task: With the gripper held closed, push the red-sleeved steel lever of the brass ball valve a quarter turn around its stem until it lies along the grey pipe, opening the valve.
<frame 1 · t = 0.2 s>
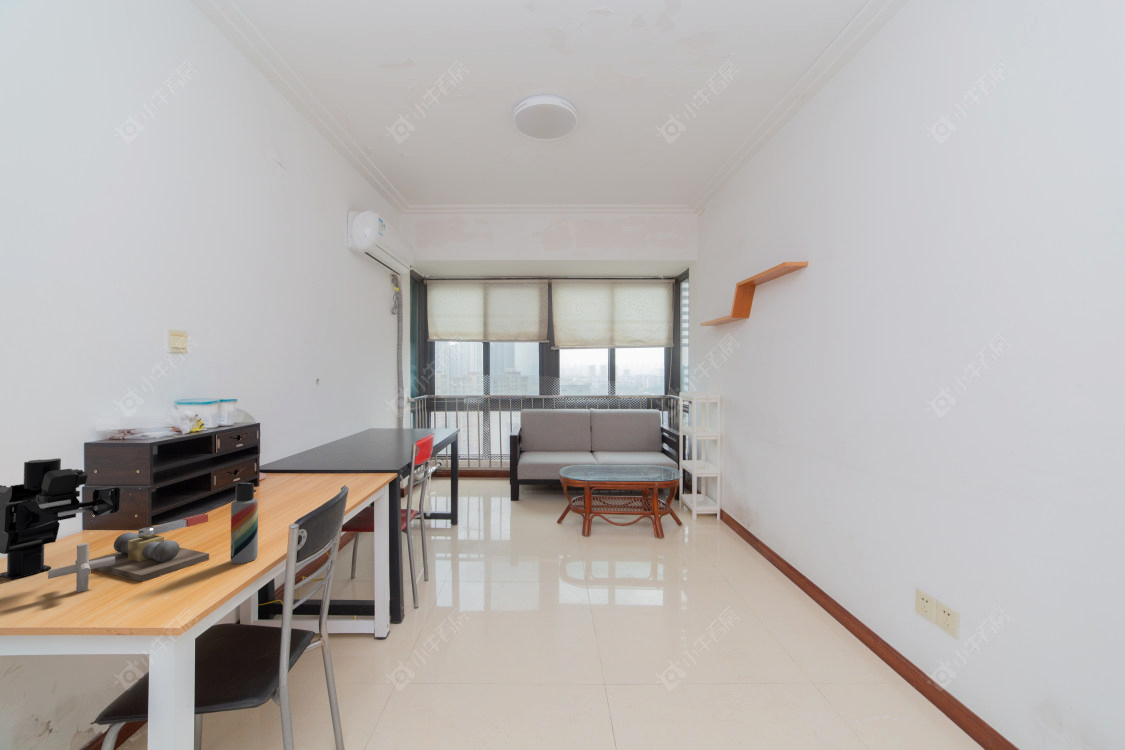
hand: (85, 512, 99), 17 cm above the table, tool horizontal, fingers open, 9 cm apart
pipe connector: (82, 590, 98), on the table
valve mount: (146, 562, 113), on the table
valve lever: (174, 525, 119), point 8 cm above the table, hinge at 0.0°
lotion bottle: (244, 560, 115), on the table
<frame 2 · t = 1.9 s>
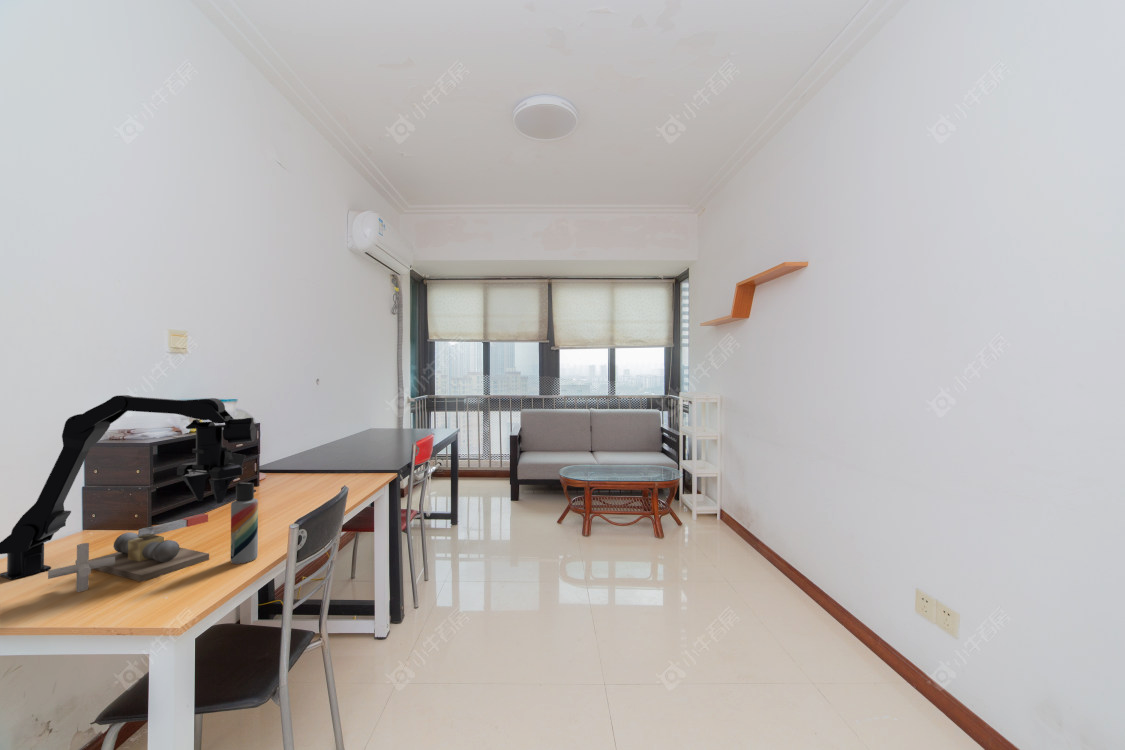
hand: (210, 501, 121), 13 cm above the table, tool pointing down, fingers open, 8 cm apart
nothing on the table moved.
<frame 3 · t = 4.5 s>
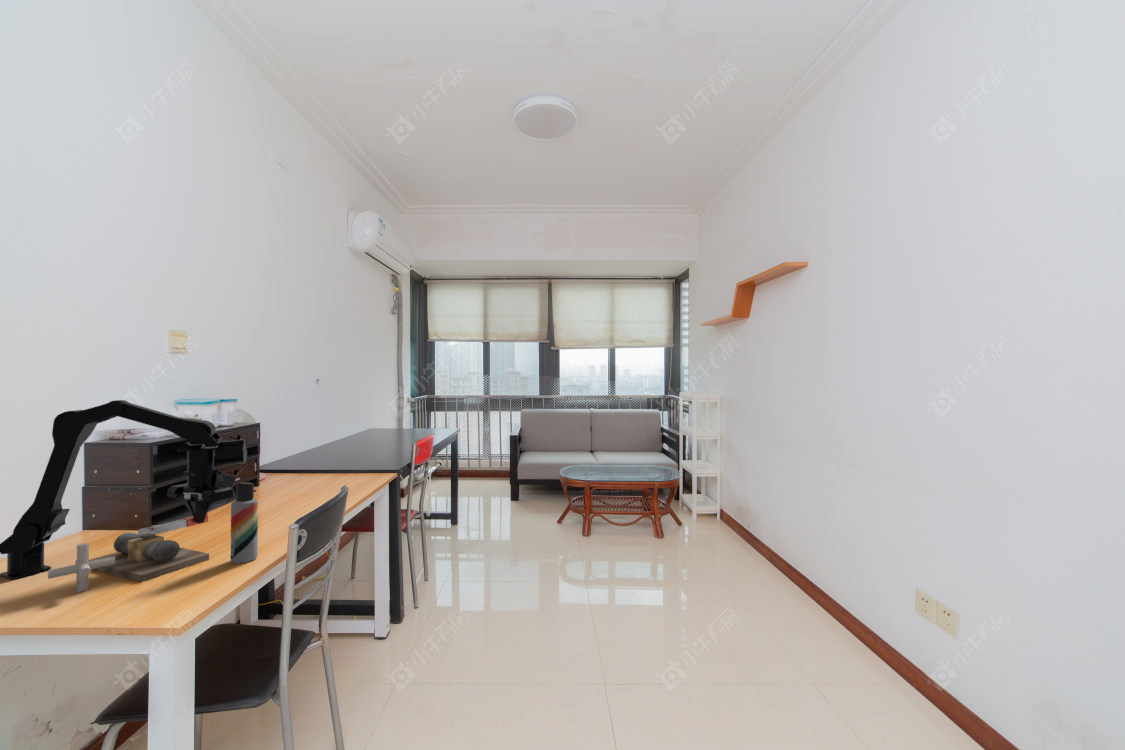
hand: (200, 523, 123), 7 cm above the table, tool pointing down, fingers closed
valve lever: (174, 525, 119), point 8 cm above the table, hinge at 0.1°, touching gripper
everything else where it was.
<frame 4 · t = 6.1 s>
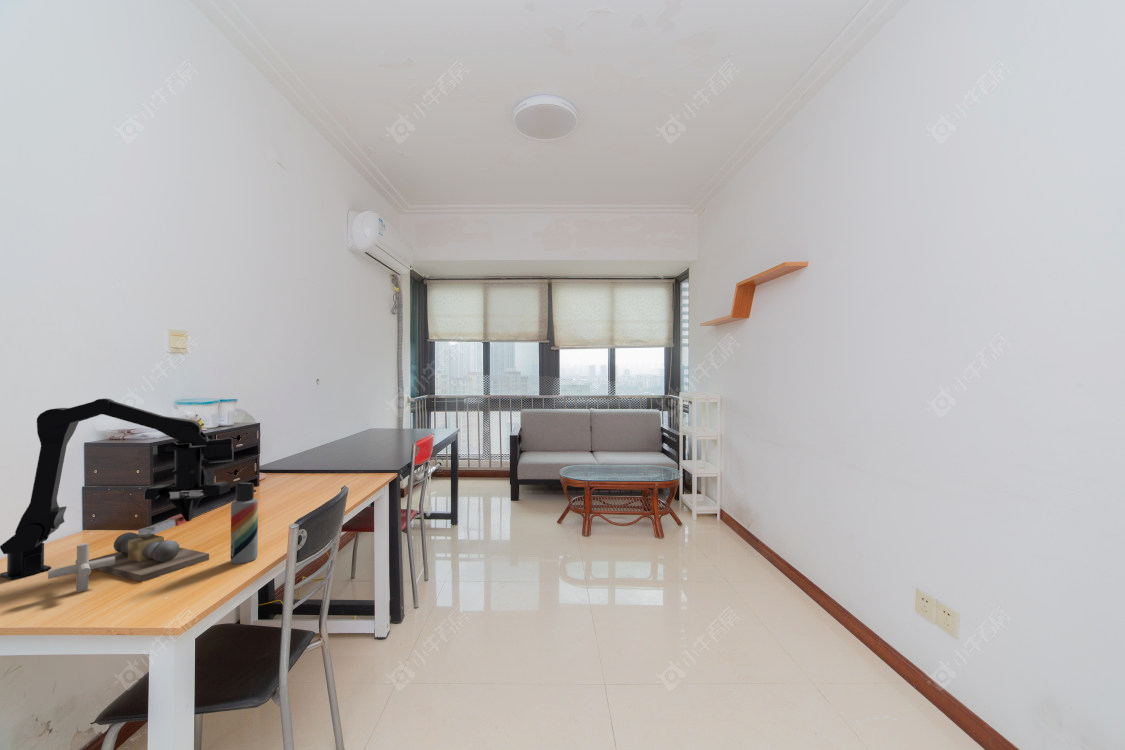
hand: (188, 521, 125), 7 cm above the table, tool pointing down, fingers closed
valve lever: (165, 525, 120), point 8 cm above the table, hinge at 26.3°, touching gripper
everything else where it was.
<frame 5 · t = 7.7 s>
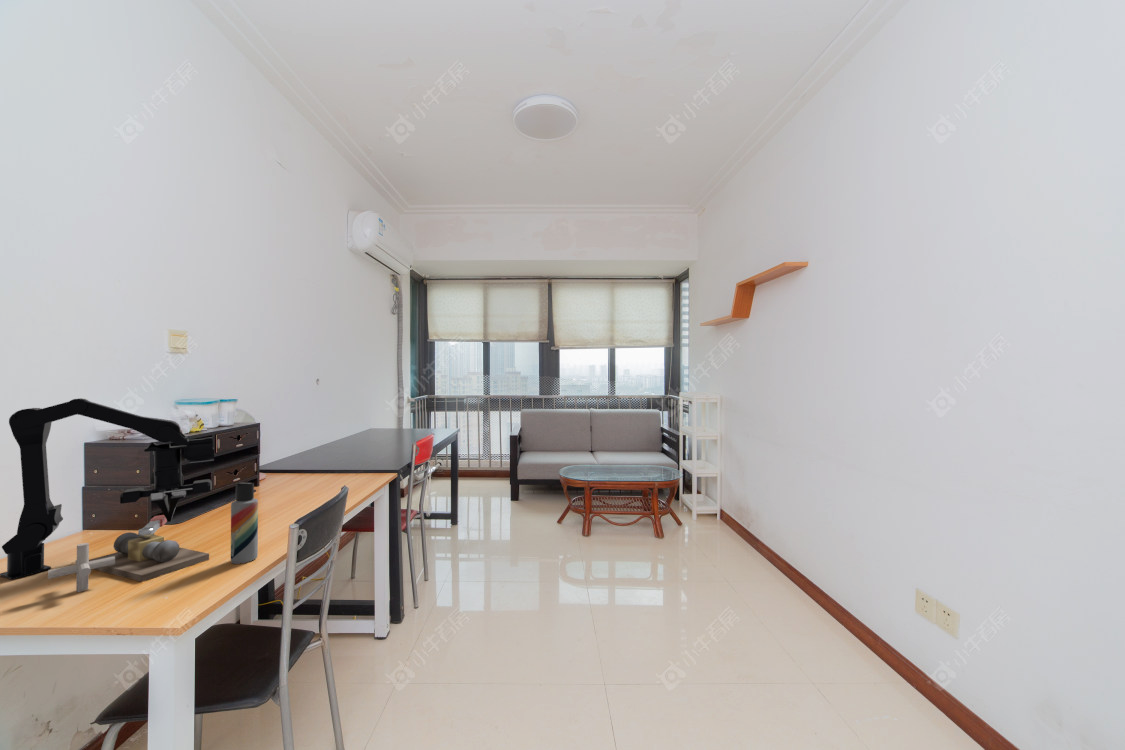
hand: (169, 521, 124), 7 cm above the table, tool pointing down, fingers closed
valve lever: (153, 526, 119), point 8 cm above the table, hinge at 51.7°, touching gripper
everything else where it was.
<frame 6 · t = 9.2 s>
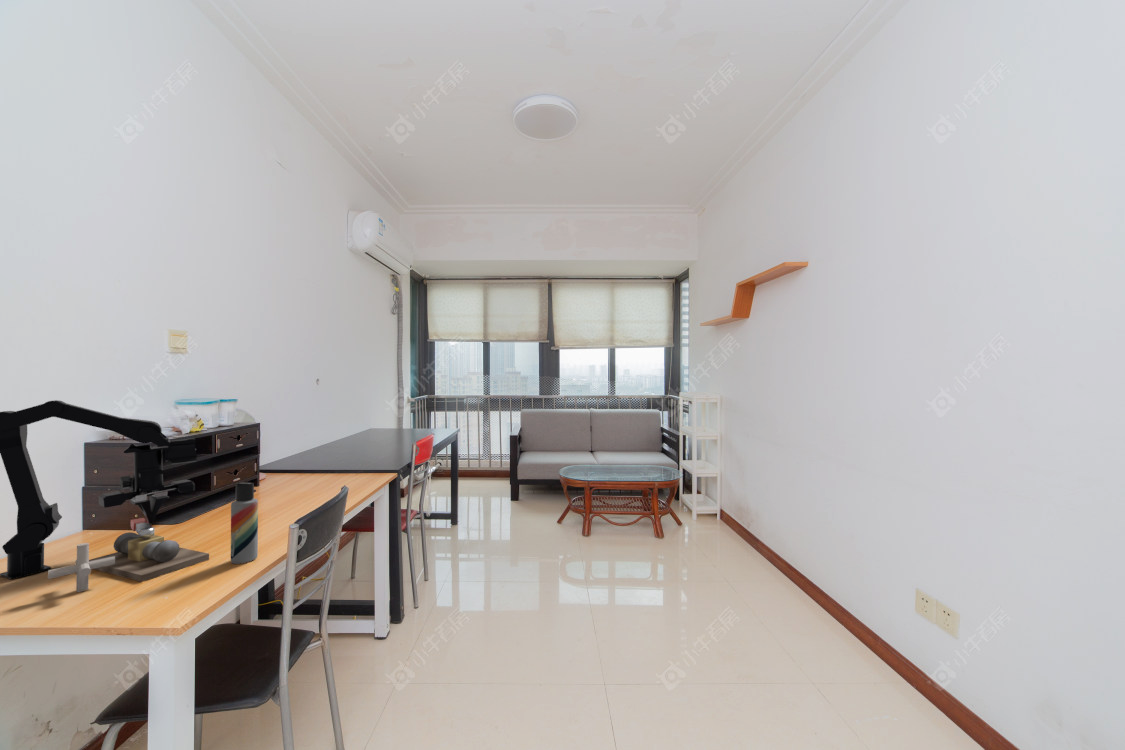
hand: (150, 523, 122), 7 cm above the table, tool pointing down, fingers closed
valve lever: (142, 527, 117), point 8 cm above the table, hinge at 72.3°, touching gripper
everything else where it was.
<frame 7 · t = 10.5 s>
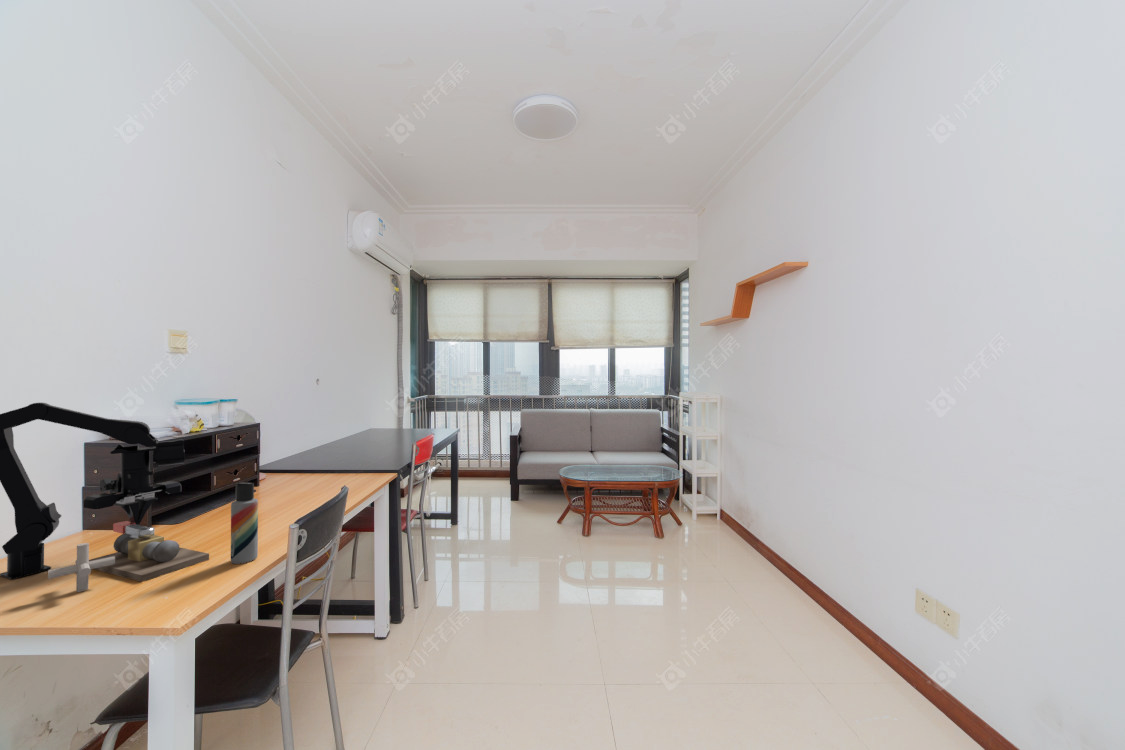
hand: (136, 526, 120), 7 cm above the table, tool pointing down, fingers closed
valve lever: (134, 529, 116), point 8 cm above the table, hinge at 87.2°, touching gripper
everything else where it was.
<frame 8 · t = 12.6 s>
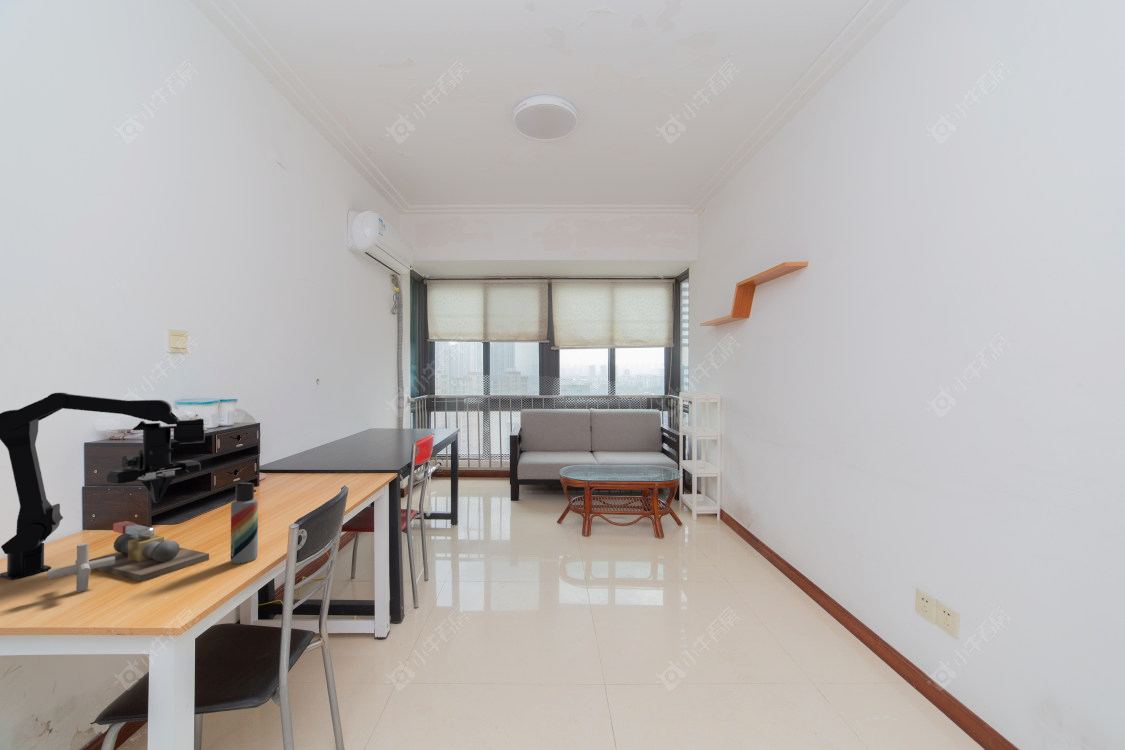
hand: (156, 502, 122), 13 cm above the table, tool pointing down, fingers closed
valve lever: (134, 529, 116), point 8 cm above the table, hinge at 87.3°
everything else where it was.
at the end: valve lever at +87° (first picture: +0°); pipe connector moved 0.2 cm from its start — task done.
